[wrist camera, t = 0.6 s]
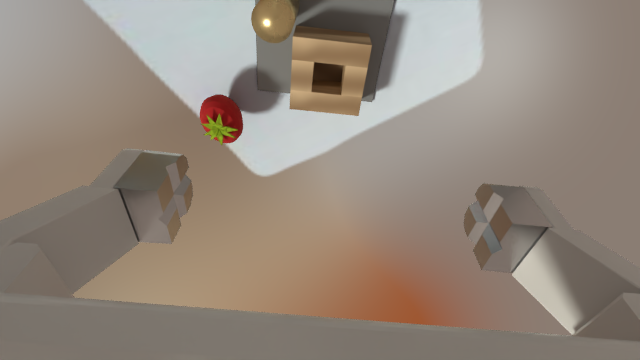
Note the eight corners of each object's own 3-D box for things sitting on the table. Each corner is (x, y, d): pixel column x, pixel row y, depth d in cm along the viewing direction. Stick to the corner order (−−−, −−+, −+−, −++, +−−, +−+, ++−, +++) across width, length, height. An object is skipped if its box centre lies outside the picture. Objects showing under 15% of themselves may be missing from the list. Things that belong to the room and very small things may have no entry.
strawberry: (238, 77, 50) (221, 107, 42) (256, 119, 55) (243, 154, 47) (203, 85, 51) (180, 117, 43) (223, 126, 56) (206, 161, 48)
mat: (253, -94, 37) (252, -94, 37) (409, -74, 38) (410, -74, 37) (258, 88, 51) (257, 89, 51) (371, 100, 52) (372, 101, 52)
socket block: (296, 25, 45) (292, 36, 41) (368, 33, 45) (372, 45, 41) (292, 93, 51) (289, 108, 47) (356, 100, 51) (358, 115, 48)
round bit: (264, -19, 41) (250, -5, 34) (300, -15, 42) (294, 0, 35) (264, 20, 44) (252, 40, 37) (298, 24, 45) (292, 45, 38)
